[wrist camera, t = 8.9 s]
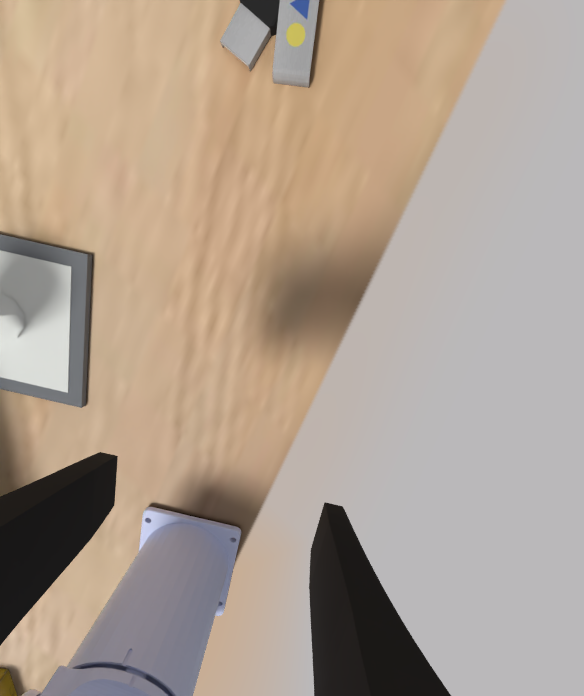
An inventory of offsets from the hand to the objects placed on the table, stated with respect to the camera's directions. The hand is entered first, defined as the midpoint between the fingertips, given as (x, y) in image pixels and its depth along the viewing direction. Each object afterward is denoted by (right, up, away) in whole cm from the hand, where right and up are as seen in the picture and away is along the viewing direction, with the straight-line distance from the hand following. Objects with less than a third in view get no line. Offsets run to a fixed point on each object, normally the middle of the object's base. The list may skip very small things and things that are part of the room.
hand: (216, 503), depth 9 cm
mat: (-17, +7, +10) cm, 21 cm away
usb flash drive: (+3, +24, +6) cm, 25 cm away
